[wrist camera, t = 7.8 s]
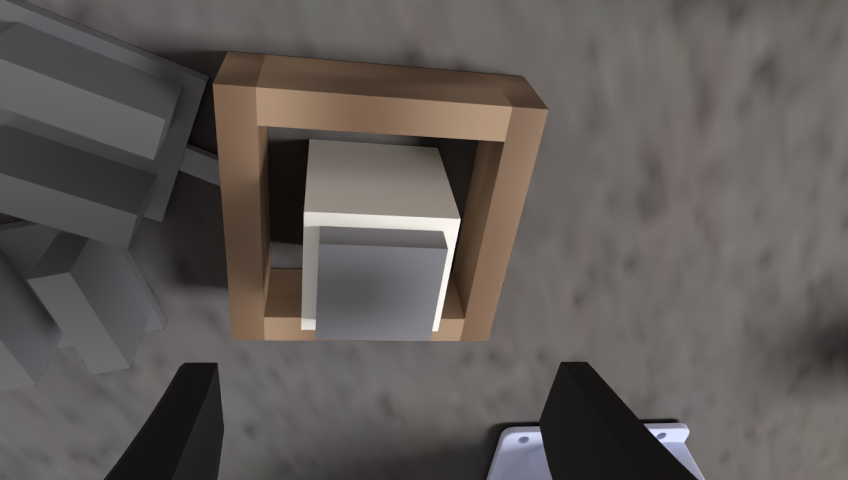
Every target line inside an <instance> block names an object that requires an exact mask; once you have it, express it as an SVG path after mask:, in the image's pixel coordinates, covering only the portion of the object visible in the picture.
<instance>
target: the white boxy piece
mask: <svg viewBox="0 0 848 480" xmlns="http://www.w3.org/2000/svg"><path fill="white" fill-rule="evenodd" d="M460 220H461V218H460V215H459V212H458V209H457V206H456V203H455V200H454V197H453V194H452V191H451V187H450V184H449V181H448V178H447V175H446V172H445V169H444V166H443V163H442V160H441V156H440V153H439V150H438V148H432V147H418V146H403V145H389V144H374V143H360V142H345V141H331V140H316V139H310V140H309V153H308V166H307V179H306V192H305V205H304V231H303V273H302V315H301V330H315V340H408V341H430V339H431V334H432V331H438V328H439V323H440V319H441V314H442V309H443V304H444V299H445V294H446V289H447V284H448V279H449V274H450V269H451V264H452V260H453V255H454V250H455V245H456V240H457V235H458V230H459V225H460Z"/></svg>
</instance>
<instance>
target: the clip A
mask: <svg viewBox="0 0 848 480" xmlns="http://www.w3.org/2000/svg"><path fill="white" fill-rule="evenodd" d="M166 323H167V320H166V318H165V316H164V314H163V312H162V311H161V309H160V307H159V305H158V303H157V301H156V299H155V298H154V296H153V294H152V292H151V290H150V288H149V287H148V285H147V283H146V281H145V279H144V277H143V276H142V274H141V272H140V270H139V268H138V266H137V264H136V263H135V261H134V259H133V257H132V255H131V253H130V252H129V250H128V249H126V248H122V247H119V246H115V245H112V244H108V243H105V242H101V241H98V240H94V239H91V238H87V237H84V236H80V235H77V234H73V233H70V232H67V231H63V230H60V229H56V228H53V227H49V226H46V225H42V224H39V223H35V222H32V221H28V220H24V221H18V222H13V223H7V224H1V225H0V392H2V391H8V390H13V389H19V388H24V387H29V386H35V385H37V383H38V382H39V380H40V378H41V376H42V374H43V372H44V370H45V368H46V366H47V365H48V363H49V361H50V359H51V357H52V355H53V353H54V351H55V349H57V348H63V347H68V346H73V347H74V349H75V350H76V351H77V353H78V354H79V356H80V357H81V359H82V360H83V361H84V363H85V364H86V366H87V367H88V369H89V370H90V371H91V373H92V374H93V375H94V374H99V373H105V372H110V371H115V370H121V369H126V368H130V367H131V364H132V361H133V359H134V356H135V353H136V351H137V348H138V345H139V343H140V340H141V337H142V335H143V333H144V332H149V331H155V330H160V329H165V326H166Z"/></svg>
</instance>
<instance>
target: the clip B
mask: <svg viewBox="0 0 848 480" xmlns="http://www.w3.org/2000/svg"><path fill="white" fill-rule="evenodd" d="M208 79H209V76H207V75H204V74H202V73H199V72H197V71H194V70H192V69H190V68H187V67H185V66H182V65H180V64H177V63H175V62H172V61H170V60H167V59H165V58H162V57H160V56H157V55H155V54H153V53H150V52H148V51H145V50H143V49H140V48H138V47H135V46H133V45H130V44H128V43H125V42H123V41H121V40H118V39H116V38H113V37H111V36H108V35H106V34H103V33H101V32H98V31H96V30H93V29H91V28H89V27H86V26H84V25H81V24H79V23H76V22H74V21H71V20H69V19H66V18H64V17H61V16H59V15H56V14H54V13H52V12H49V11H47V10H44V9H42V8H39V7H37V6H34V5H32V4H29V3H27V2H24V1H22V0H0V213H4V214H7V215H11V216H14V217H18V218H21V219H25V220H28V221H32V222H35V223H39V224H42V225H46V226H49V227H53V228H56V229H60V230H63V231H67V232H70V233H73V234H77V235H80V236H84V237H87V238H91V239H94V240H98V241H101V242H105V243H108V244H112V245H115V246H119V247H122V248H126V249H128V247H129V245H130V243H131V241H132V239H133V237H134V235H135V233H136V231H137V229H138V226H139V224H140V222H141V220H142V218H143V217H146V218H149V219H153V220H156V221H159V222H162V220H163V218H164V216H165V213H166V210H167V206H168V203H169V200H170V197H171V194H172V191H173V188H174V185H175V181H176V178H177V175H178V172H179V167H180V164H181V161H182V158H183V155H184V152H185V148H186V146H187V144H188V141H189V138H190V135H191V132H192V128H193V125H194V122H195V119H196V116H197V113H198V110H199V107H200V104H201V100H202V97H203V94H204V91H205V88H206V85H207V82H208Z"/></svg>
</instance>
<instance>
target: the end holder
mask: <svg viewBox="0 0 848 480" xmlns="http://www.w3.org/2000/svg"><path fill="white" fill-rule="evenodd" d="M213 94H214V107H215V120H216V133H217V146H218V159H219V172H220V185H221V198H222V211H223V223H224V236H225V249H226V262H227V275H228V288H229V301H230V314H231V327H232V340H315V330H301V315H302V273H303V269H271V257H270V216H269V175H268V134H267V126H272V127H288V128H303V129H318V130H333V131H349V132H364V133H379V134H395V135H410V136H425V137H441V138H456V139H471V140H479V141H478V146H477V151H476V156H475V161H474V166H473V171H472V176H471V181H470V186H469V191H468V196H467V201H466V206H465V211H464V216H463V222H462V227H461V232H460V237H459V242H458V247H457V252H456V257H455V262H454V267H453V272H452V273H450V274H449V279H448V284H447V289H446V294H445V299H444V304H443V309H442V314H441V319H440V323H439V328H438V331H432V334H431V339H430V341H488V339H489V335H490V331H491V327H492V323H493V320H494V316H495V312H496V308H497V304H498V301H499V297H500V293H501V289H502V285H503V282H504V278H505V274H506V270H507V266H508V263H509V259H510V255H511V251H512V247H513V244H514V240H515V236H516V232H517V228H518V225H519V221H520V217H521V213H522V209H523V206H524V202H525V198H526V194H527V190H528V186H529V183H530V179H531V175H532V171H533V167H534V164H535V160H536V156H537V152H538V148H539V145H540V141H541V137H542V133H543V129H544V126H545V122H546V118H547V114H548V110H549V109H548V108H547V107H546V105H545V104H544V103H543V101H542V100H541V99H540V97H539V96H538V95H537V94H536V92H535V91H534V90H533V88H532V87H531V86H530V84H529V83H528V82H527V80H526V79H525V78H524V77H521V76H509V75H498V74H486V73H474V72H463V71H451V70H440V69H428V68H416V67H405V66H393V65H382V64H370V63H358V62H347V61H335V60H324V59H312V58H301V57H289V56H277V55H266V54H254V53H243V52H231V51H228V52H227V54H226V56H225V59H224V61H223V63H222V65H221V67H220V69H219V71H218V74H217V76H216V78H215V80H214V82H213ZM349 341H408V340H349Z"/></svg>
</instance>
